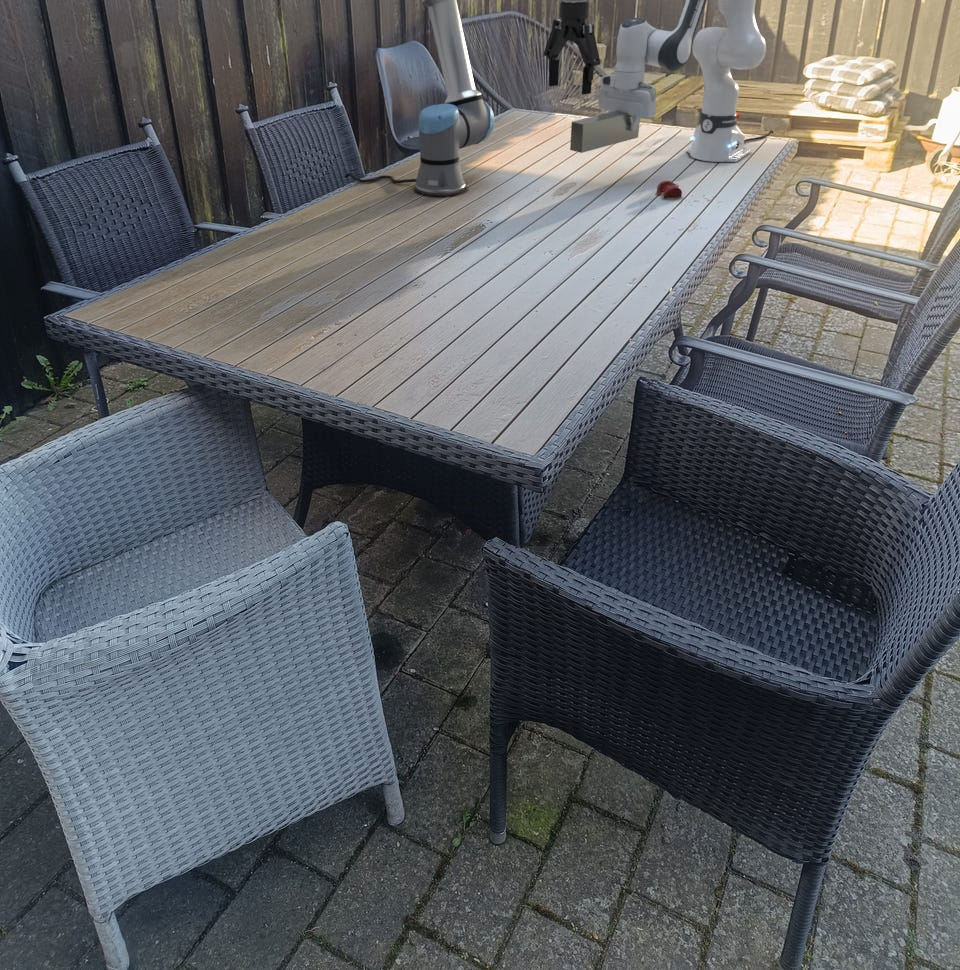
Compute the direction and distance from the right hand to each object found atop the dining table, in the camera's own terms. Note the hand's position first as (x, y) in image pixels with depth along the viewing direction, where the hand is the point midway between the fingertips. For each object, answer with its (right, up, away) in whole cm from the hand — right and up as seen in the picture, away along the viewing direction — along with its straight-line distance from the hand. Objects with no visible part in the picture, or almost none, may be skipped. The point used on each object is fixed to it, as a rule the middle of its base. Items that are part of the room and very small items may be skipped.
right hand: (624, 129), depth 260 cm
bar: (-7, -6, -3) cm, 9 cm away
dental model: (+12, -23, -6) cm, 27 cm away
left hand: (-20, -1, -29) cm, 35 cm away
